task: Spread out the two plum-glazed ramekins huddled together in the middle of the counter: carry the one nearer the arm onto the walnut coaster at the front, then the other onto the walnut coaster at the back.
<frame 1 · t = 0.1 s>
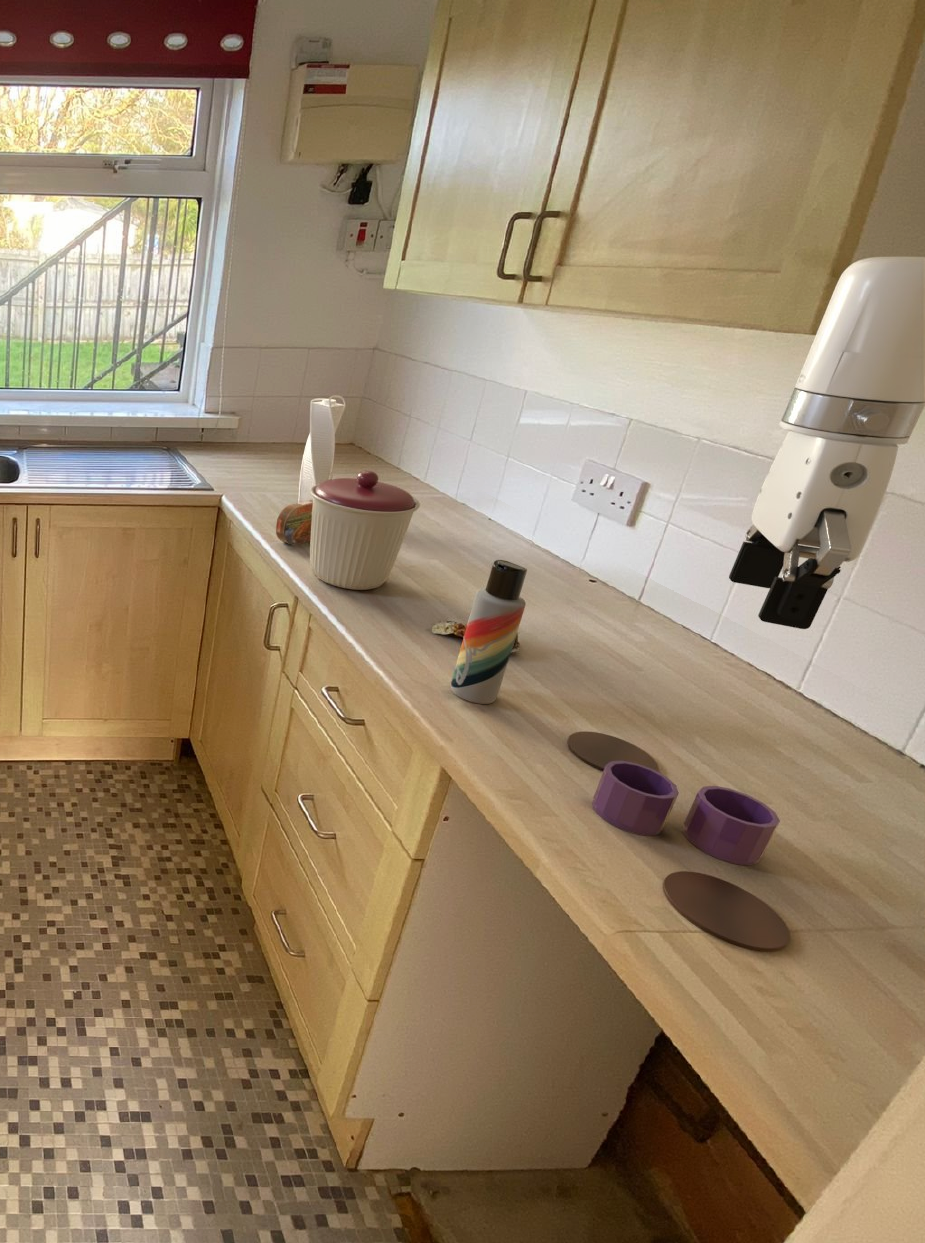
hand: (765, 603, 69), 29 cm above the worktop, tool pointing down, fingers open, 9 cm apart
ramekin 1: (720, 843, 80), on the worktop
tin: (300, 540, 162), on the worktop
coaster front: (723, 910, 72), on the worktop
canister: (346, 580, 143), on the worktop
pastry: (473, 642, 121), on the worktop
skyscraper: (310, 512, 180), on the worktop
lotion bottle: (472, 694, 107), on the worktop
ramekin 2: (626, 815, 84), on the worktop
coaster back: (610, 755, 94), on the worktop
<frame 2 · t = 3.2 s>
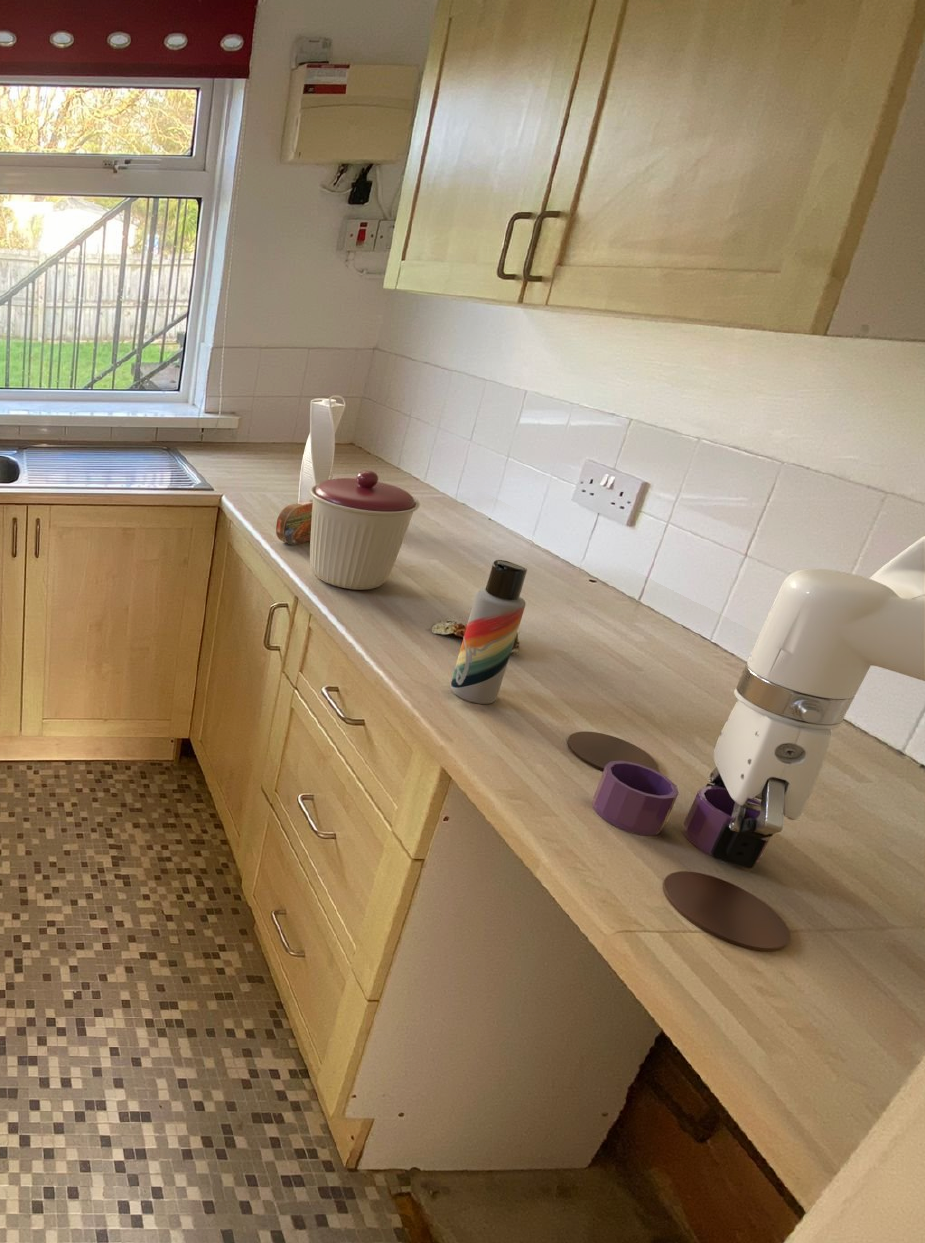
hand: (722, 838, 80), 1 cm above the worktop, tool pointing down, fingers closed on ramekin 1, 6 cm apart
ramekin 1: (720, 843, 80), on the worktop, touching gripper
everything else where it was.
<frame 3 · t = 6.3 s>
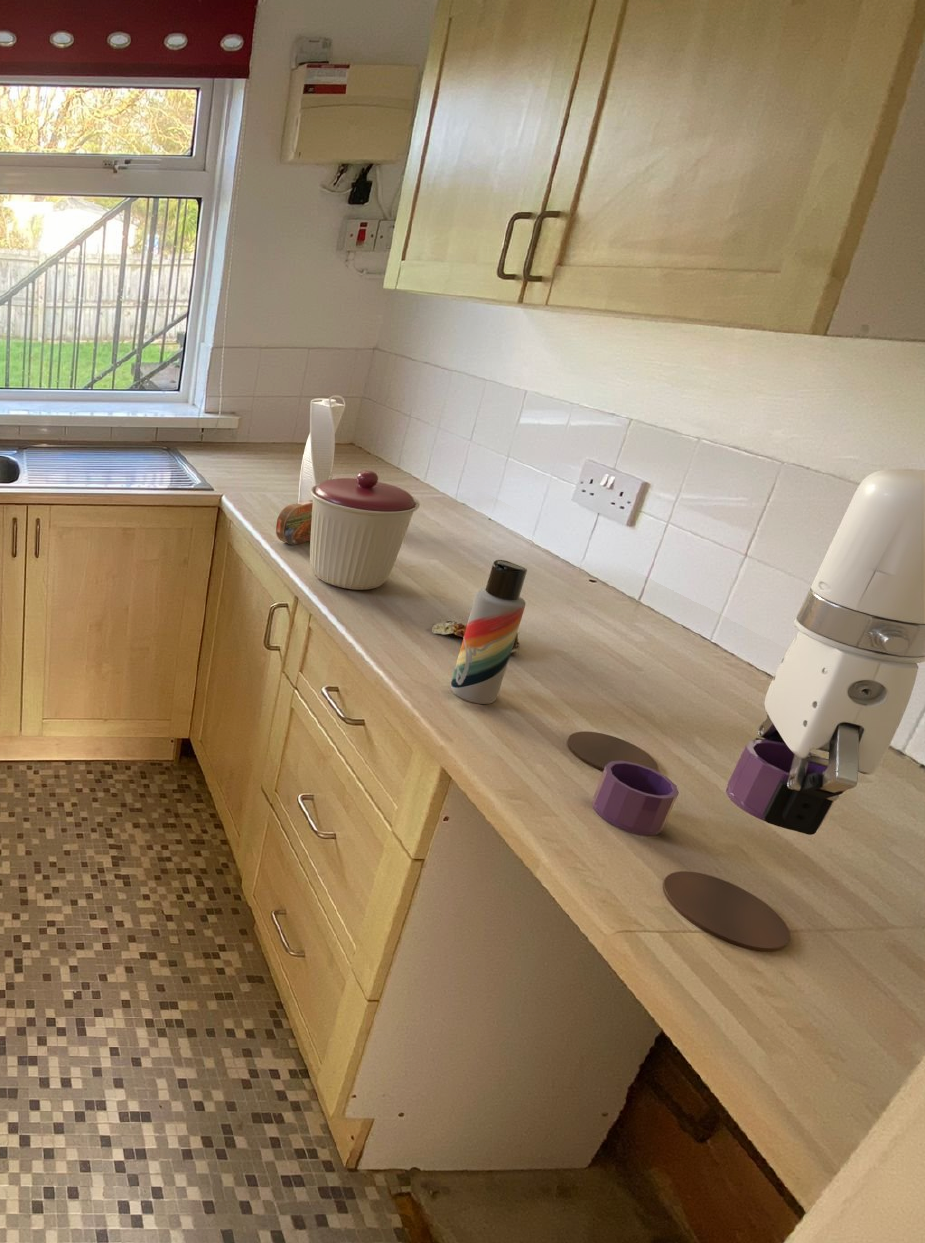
hand: (775, 801, 68), 13 cm above the worktop, tool pointing down, fingers closed on ramekin 1, 6 cm apart
ramekin 1: (771, 807, 68), point 12 cm above the worktop, touching gripper
everything else where it was.
when the fingers open (1 cm above the worktop, at t = 9.4 s): ramekin 1 stays where it is, resting on coaster front.
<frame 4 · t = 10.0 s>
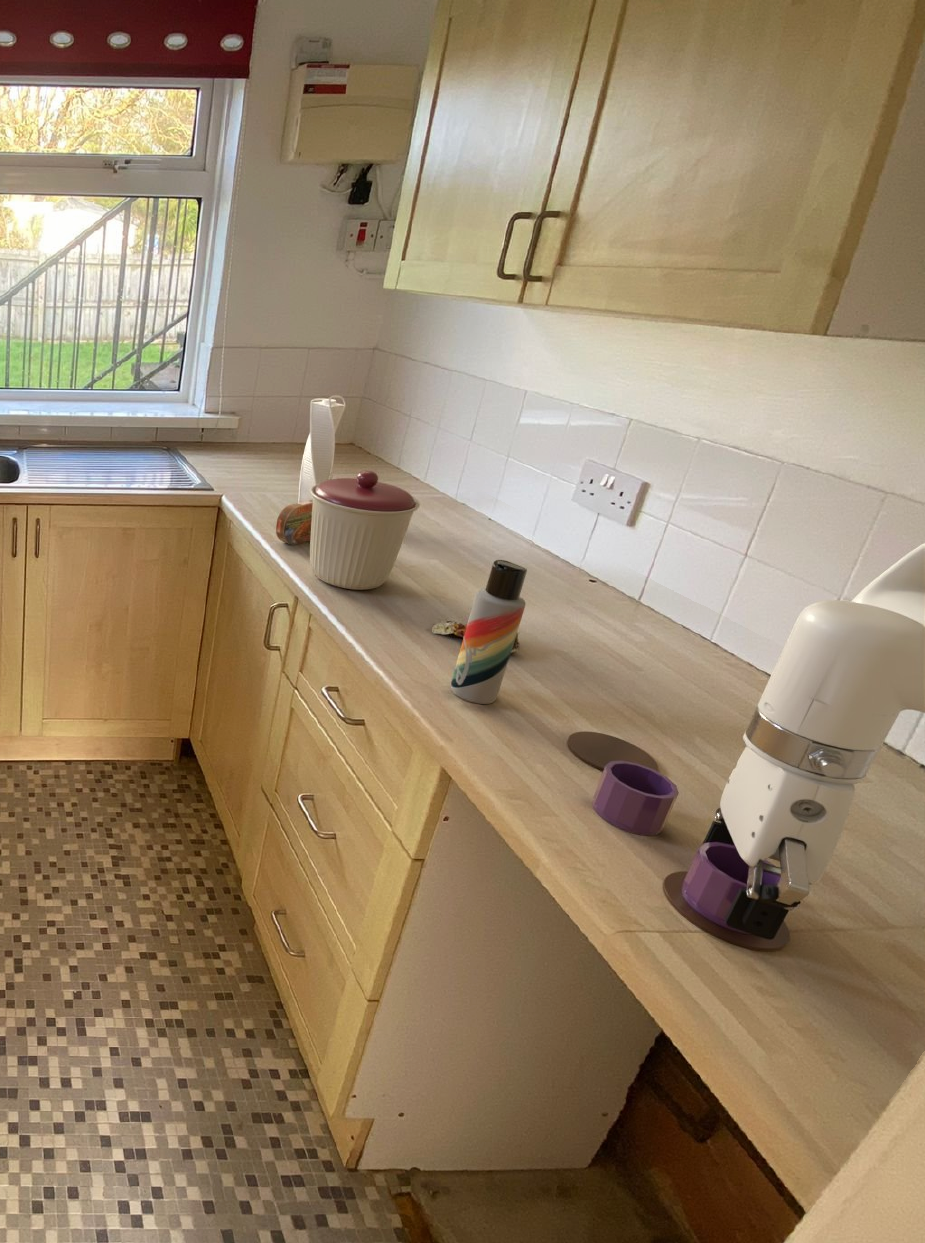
hand: (733, 893, 71), 2 cm above the worktop, tool pointing down, fingers open, 9 cm apart
ramekin 1: (723, 907, 72), resting on coaster front
everything else where it was.
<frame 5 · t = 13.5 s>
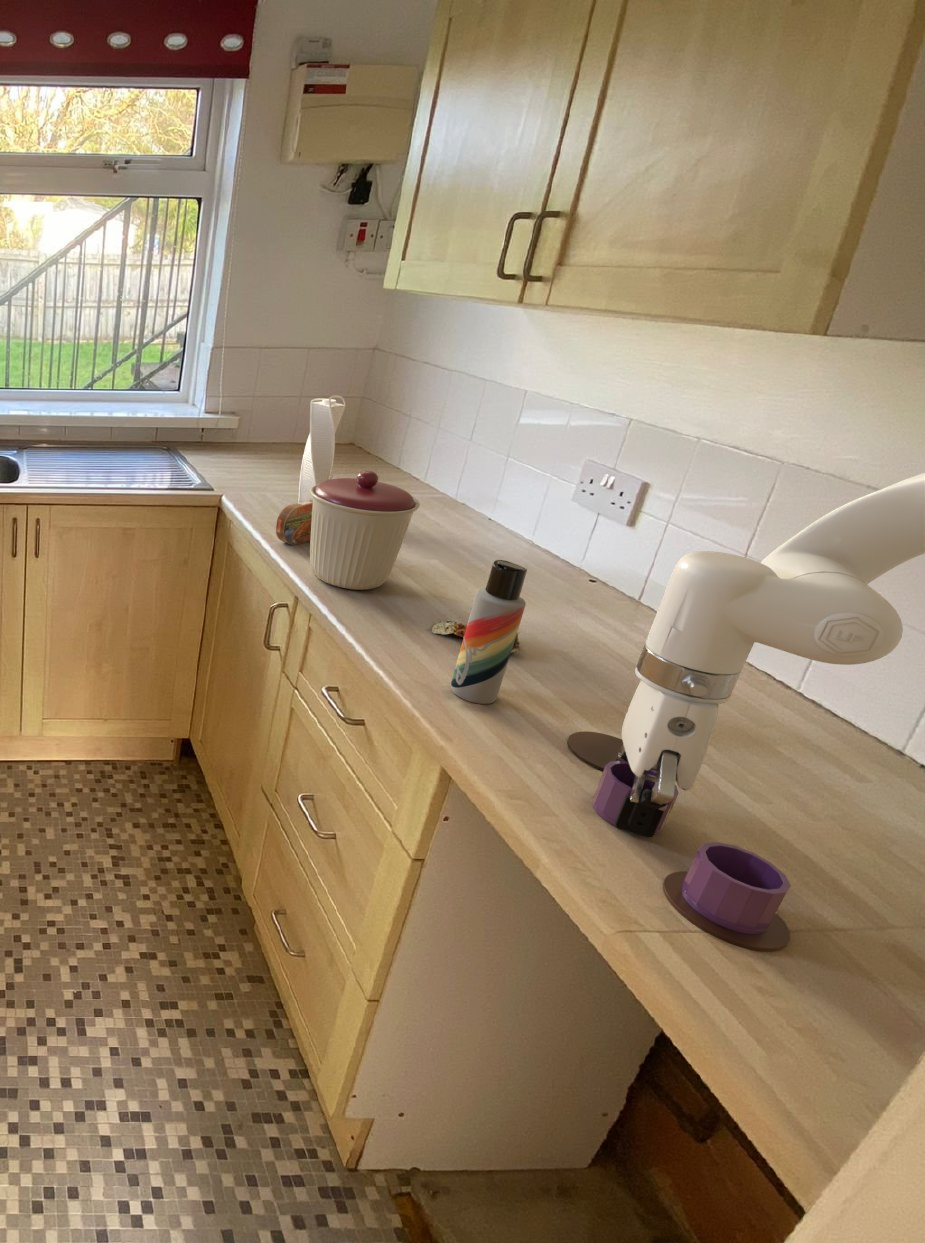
hand: (628, 810, 84), 1 cm above the worktop, tool pointing down, fingers closed on ramekin 2, 6 cm apart
ramekin 2: (626, 815, 84), on the worktop, touching gripper
everything else where it was.
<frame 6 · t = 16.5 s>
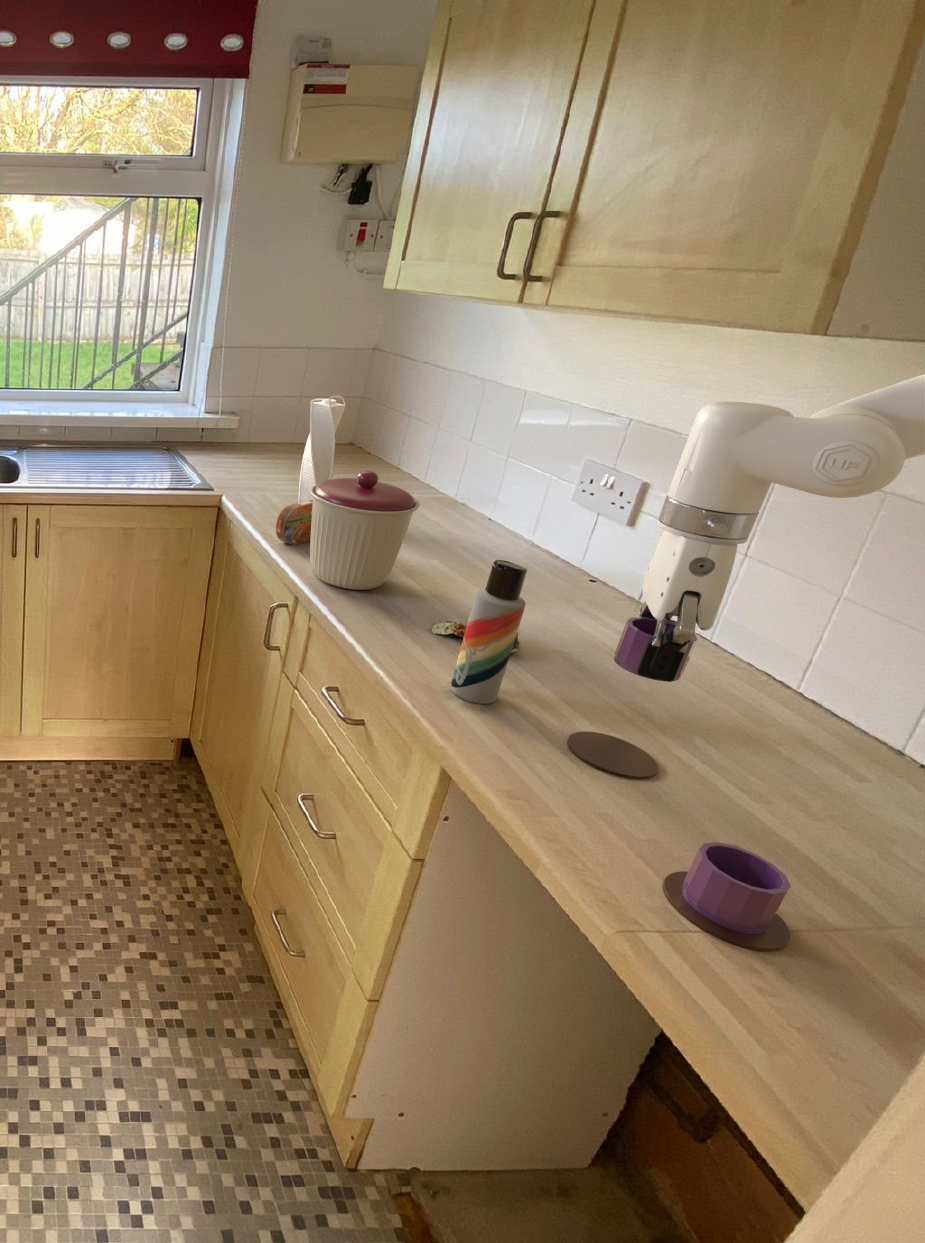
hand: (648, 662, 88), 14 cm above the worktop, tool pointing down, fingers closed on ramekin 2, 6 cm apart
ramekin 2: (646, 667, 89), point 13 cm above the worktop, touching gripper
everything else where it was.
when the fingers open (1 cm above the worktop, at t = 19.8 s): ramekin 2 stays where it is, resting on coaster back.
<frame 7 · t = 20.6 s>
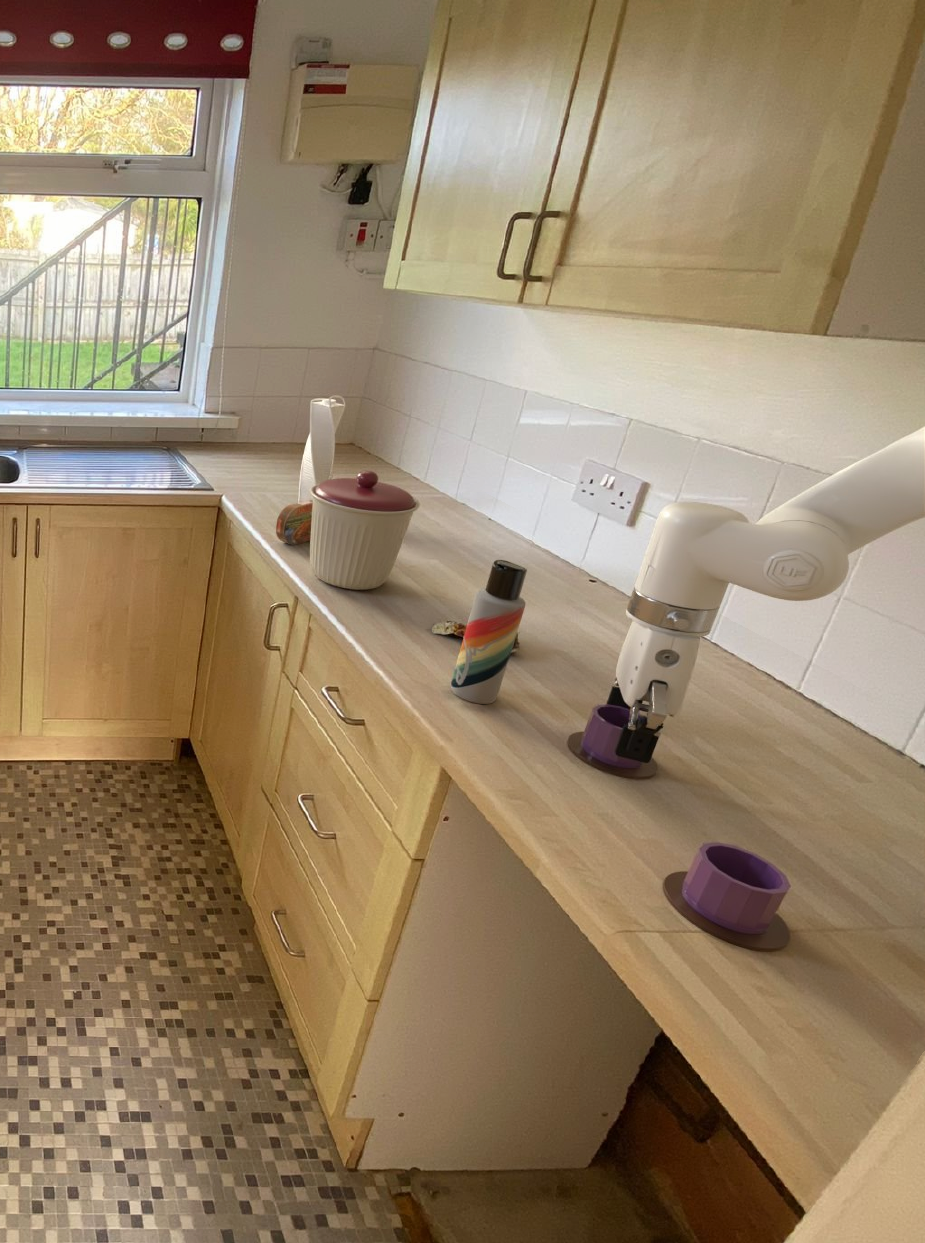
hand: (624, 737, 93), 3 cm above the worktop, tool pointing down, fingers open, 9 cm apart
ramekin 2: (611, 752, 94), resting on coaster back
everything else where it was.
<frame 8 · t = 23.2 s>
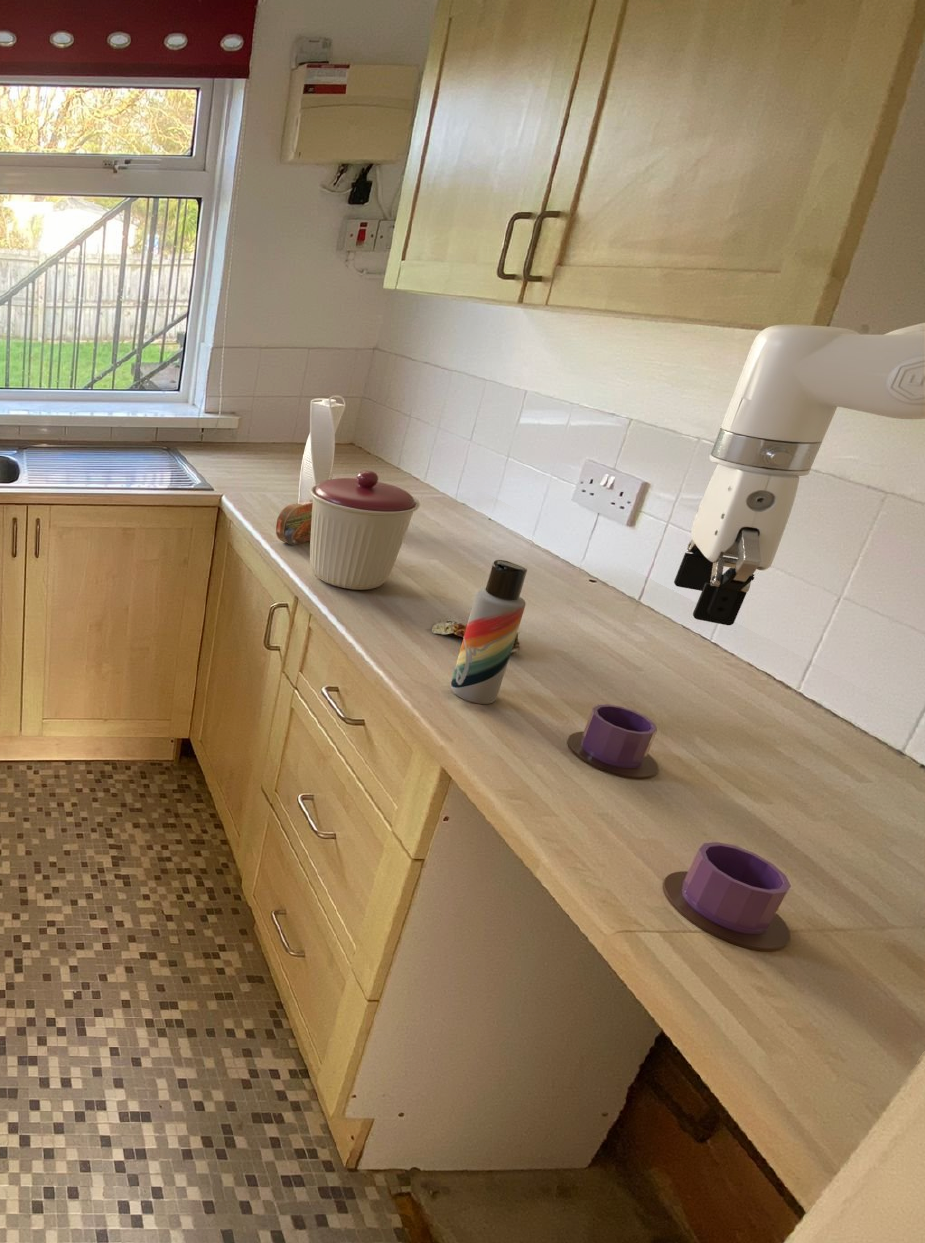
hand: (701, 603, 83), 22 cm above the worktop, tool pointing down, fingers open, 9 cm apart
nothing on the worktop moved.
at the end: ramekin 1 0.1 cm off-centre on the coaster front, point 0.4 cm above the coaster front's base; ramekin 2 0.1 cm off-centre on the coaster back, point 0.4 cm above the coaster back's base; ramekin 1 tilted 0° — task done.
